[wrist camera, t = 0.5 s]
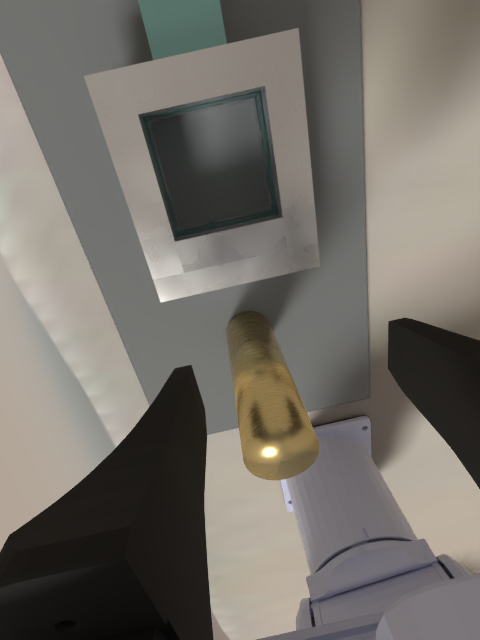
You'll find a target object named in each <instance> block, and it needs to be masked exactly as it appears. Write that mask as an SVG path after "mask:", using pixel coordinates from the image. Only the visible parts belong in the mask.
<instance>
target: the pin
mask: <svg viewBox="0 0 480 640" xmlns="http://www.w3.org/2000/svg"><path fill="white" fill-rule="evenodd" d="M226 338H227V345H228V352H229V359H230V367H231V374H232V381H233V388H234V395H235V403H236V410H237V417H238V424H239V431H240V438H241V446H242V453H243V460H244V464H245V466H246V468H247V469H248V470H249V471H250V472H251V473H252V474H254V475H255V476H257V477H259V478H262V479H267V480H283V479H288V478H292V477H294V476H297V475H299V474H301V473H302V472H304V471H306V470H307V469H308V468H309V467H310V466H311V465H312V464H313V463H314V462H315V460H316V459H317V456H318V454H319V449H320V448H319V441H318V439H317V436H316V434H315V431H314V429H313V427H312V424H311V422H310V419H309V417H308V414H307V412H306V410H305V407H304V405H303V402H302V400H301V397H300V395H299V393H298V390H297V388H296V385H295V383H294V380H293V378H292V375H291V373H290V371H289V368H288V366H287V363H286V361H285V358H284V356H283V354H282V351H281V349H280V346H279V344H278V341H277V339H276V337H275V334H274V332H273V329H272V327H271V324H270V322H269V320H268V319H267V318H266V317H265V316H264V315H263V314H261V313H259V312H255V311H245V312H241V313H239V314H237V315H236V316H234V317H233V318H232V319H231V320H230V321H229V323H228V325H227V328H226Z"/></svg>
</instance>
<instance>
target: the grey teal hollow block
mask: <svg viewBox="0 0 480 640" xmlns="http://www.w3.org/2000/svg"><path fill="white" fill-rule="evenodd" d="M138 3H139V7H140V11H141V15H142V19H143V22H144V26H145V30H146V34H147V38H148V42H149V46H150V50H151V54H152V58H153V61H148V62H144V63H139V64H135V65H130V66H126V67H121V68H117V69H112V70H108V71H103V72H99V73H94V74H90V75H85V76H84V78H85V81H86V84H87V87H88V90H89V93H90V96H91V99H92V102H93V105H94V108H95V111H96V114H97V117H98V120H99V123H100V126H101V128H102V131H103V134H104V137H105V140H106V143H107V146H108V149H109V152H110V155H111V158H112V161H113V164H114V167H115V170H116V173H117V176H118V178H119V181H120V184H121V187H122V190H123V193H124V196H125V199H126V202H127V205H128V208H129V211H130V214H131V217H132V220H133V223H134V226H135V229H136V231H137V234H138V237H139V240H140V243H141V246H142V249H143V252H144V255H145V258H146V261H147V264H148V267H149V270H150V273H151V276H152V279H153V281H154V284H155V287H156V290H157V293H158V296H159V299H160V302H166V301H170V300H174V299H179V298H183V297H188V296H192V295H196V294H201V293H205V292H210V291H214V290H218V289H223V288H227V287H232V286H236V285H241V284H245V283H249V282H254V281H258V280H263V279H267V278H271V277H276V276H280V275H285V274H289V273H294V272H298V271H302V270H307V269H311V268H316V267H320V258H319V247H318V236H317V225H316V214H315V203H314V192H313V181H312V170H311V159H310V148H309V137H308V126H307V115H306V104H305V93H304V82H303V72H302V61H301V50H300V39H299V28H296V29H291V30H287V31H282V32H278V33H273V34H269V35H264V36H260V37H256V38H251V39H247V40H242V41H238V42H233V43H229V44H227V41H226V35H225V29H224V23H223V17H222V12H221V6H220V0H138ZM248 101H252V106H253V113H254V119H255V126H256V132H257V139H258V145H259V152H260V158H261V165H262V171H263V178H264V184H265V191H266V197H267V204H268V206H266V207H262V208H258V209H253V210H249V211H244V212H240V213H235V214H231V215H226V216H222V217H218V218H213V219H209V220H204V221H200V222H195V223H191V224H187V225H182V226H180V225H179V221H178V218H177V214H176V210H175V207H174V203H173V200H172V196H171V192H170V189H169V185H168V182H167V178H166V175H165V171H164V167H163V164H162V160H161V157H160V153H159V149H158V146H157V142H156V139H155V135H154V131H153V128H152V124H151V123H155V122H159V121H163V120H168V119H172V118H177V117H181V116H186V115H190V114H195V113H199V112H204V111H208V110H213V109H217V108H221V107H226V106H230V105H235V104H239V103H244V102H248Z"/></svg>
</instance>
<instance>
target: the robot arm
mask: <svg viewBox="0 0 480 640" xmlns="http://www.w3.org/2000/svg"><path fill="white" fill-rule="evenodd" d="M388 369H389V371H390V372H391V374H392V376H393V377H394V379H395V380H396V382H397V383H398V385H399V386H400V388H401V389H402V391H403V392H404V393H405V395H406V396H407V397H408V398H409V399H410V400H411V402H412V403H413V404H414V405H415V406H416V408H417V409H418V410H419V411H420V412H421V413H422V414H423V416H424V417H425V418H426V419H427V420H428V421H429V422H430V424H431V425H432V426H433V427H434V428H435V429H436V431H437V432H438V433H439V434H440V435H441V436H442V437H443V439H444V440H445V441H446V442H447V444H448V445H449V446H450V447H451V449H452V450H453V451H454V452H455V454H456V455H457V457H458V458H459V460H460V461H461V462H462V464H463V465H464V467H465V468H466V470H467V471H468V472H469V474H470V475H471V477H472V478H473V480H474V481H475V483H476V484H477V486H478V487H479V489H480V341H479V340H476V339H473V338H469V337H466V336H463V335H460V334H457V333H453V332H450V331H447V330H444V329H441V328H438V327H435V326H432V325H429V324H426V323H423V322H420V321H416V320H413V319H408V318H402V319H397V320H393V321H389V325H388ZM364 426H365V427H364ZM313 429H314V431H315V434H316V436H317V439H318V441H319V448H320V449H319V454H318V456H317V459H316V460H315V462H314V463H313V464H312V465H311V466H310V467H309V468H308V469H307V470H306V471H304V472H302V473H301V474H299V475H297V476H294V477H292V478H288V479H283V480H281V484H282V489H283V494H284V498H285V503H286V508H287V510H288V511H289V512H294V513H295V517H296V521H297V525H298V528H299V532H300V536H301V540H302V544H303V548H304V551H305V555H306V559H307V563H308V567H309V571H310V574H311V575H309V576H307V577H306V580H307V584H308V588H309V593H310V598H305V599H302V600H301V602H300V608H299V611H298V613H297V616H296V631H293V632H288V633H284V634H280V635H275V636H271V637H266V638H262V639H257V640H480V573H476V574H471V573H470V572H469V571H468V570H467V568H465V567H464V566H463V565H462V564H460V563H458V562H457V561H455V560H453V559H452V558H451V557H449V556H448V555H445V554H442V555H439V556H437V557H435V556H434V554H433V552H432V551H431V549H430V547H429V545H428V544H427V542H426V540H425V539H420V540H418V539H417V537H416V536H415V534H414V532H413V530H412V529H411V527H410V525H409V523H408V521H407V520H406V518H405V516H404V514H403V513H402V511H401V509H400V507H399V506H398V504H397V502H396V500H395V498H394V497H393V495H392V493H391V491H390V490H389V488H388V486H387V484H386V482H385V481H384V479H383V477H382V475H381V474H380V472H379V470H378V468H377V467H376V465H375V463H374V461H373V459H372V458H371V422H370V420H369V418H368V417H367V416H361V417H357V418H353V419H348V420H344V421H340V422H335V423H331V424H326V425H322V426H318V427H313ZM206 446H207V426H206V414H205V407H204V404H203V400H202V397H201V394H200V391H199V387H198V384H197V381H196V378H195V375H194V371H193V368H192V365H188V366H183V367H178V368H175V369H174V370H173V372H172V373H171V375H170V376H169V378H168V379H167V381H166V383H165V384H164V386H163V387H162V389H161V390H160V392H159V394H158V395H157V397H156V398H155V400H154V401H153V403H152V404H151V405H150V407H149V408H148V410H147V411H146V412H145V414H144V415H143V416H142V418H141V419H140V420H139V422H138V423H137V424H136V426H135V427H134V428H133V429H132V431H131V432H130V433H129V434H128V435H127V436H126V438H125V439H124V440H123V441H122V442H121V443H120V444H119V445H118V446H117V447H116V448H115V450H114V451H113V452H112V453H111V454H110V455H109V456H107V458H105V459H104V460H103V461H102V462H101V463H100V464H99V465H98V466H97V467H96V468H95V469H94V470H93V471H92V472H91V473H90V474H89V475H87V476H86V477H85V478H84V479H83V480H82V481H81V482H79V484H77V485H76V486H75V487H74V488H72V489H71V490H70V491H69V492H67V493H66V494H65V495H64V496H62V497H61V498H60V499H59V500H57V501H56V502H55V503H53V504H52V505H51V506H49V507H48V508H47V509H45V510H44V511H43V512H41V513H40V514H39V515H37V516H36V517H34V518H33V519H32V520H30V521H29V522H27V523H26V524H25V525H23V526H22V527H20V528H19V529H17V530H16V531H15V532H13V533H12V534H10V535H9V537H8V539H7V541H6V542H5V544H4V546H3V548H2V550H1V552H0V640H213V630H212V619H211V607H210V594H209V580H208V566H207V550H206V533H205V513H204V488H205V468H206Z"/></svg>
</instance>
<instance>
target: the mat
mask: <svg viewBox="0 0 480 640" xmlns="http://www.w3.org/2000/svg"><path fill="white" fill-rule="evenodd" d="M220 6H221V12H222V17H223V23H224V29H225V35H226V41H227V44H229V43H233V42H238V41H242V40H247V39H251V38H256V37H260V36H264V35H269V34H273V33H278V32H282V31H287V30H291V29H296V28H299V39H300V50H301V61H302V72H303V82H304V93H305V104H306V115H307V126H308V137H309V148H310V159H311V170H312V181H313V192H314V203H315V214H316V225H317V236H318V247H319V258H320V267H316V268H311V269H307V270H302V271H298V272H294V273H289V274H285V275H280V276H276V277H271V278H267V279H263V280H258V281H254V282H249V283H245V284H241V285H236V286H232V287H227V288H223V289H218V290H214V291H210V292H205V293H201V294H196V295H192V296H188V297H183V298H179V299H174V300H170V301H166V302H160V299H159V296H158V293H157V290H156V287H155V284H154V281H153V279H152V276H151V273H150V270H149V267H148V264H147V261H146V258H145V255H144V252H143V249H142V246H141V243H140V240H139V237H138V234H137V231H136V229H135V226H134V223H133V220H132V217H131V214H130V211H129V208H128V205H127V202H126V199H125V196H124V193H123V190H122V187H121V184H120V181H119V178H118V176H117V173H116V170H115V167H114V164H113V161H112V158H111V155H110V152H109V149H108V146H107V143H106V140H105V137H104V134H103V131H102V128H101V126H100V123H99V120H98V117H97V114H96V111H95V108H94V105H93V102H92V99H91V96H90V93H89V90H88V87H87V84H86V81H85V78H84V76H85V75H90V74H94V73H99V72H103V71H108V70H112V69H117V68H121V67H126V66H130V65H135V64H139V63H144V62H148V61H153V58H152V54H151V50H150V46H149V42H148V38H147V34H146V30H145V26H144V22H143V19H142V15H141V11H140V7H139V3H138V0H0V54H1V56H2V58H3V61H4V63H5V65H6V68H7V70H8V72H9V75H10V77H11V80H12V82H13V84H14V87H15V89H16V91H17V94H18V96H19V98H20V101H21V103H22V105H23V108H24V110H25V113H26V115H27V117H28V120H29V122H30V124H31V127H32V129H33V131H34V134H35V136H36V139H37V141H38V143H39V146H40V148H41V150H42V153H43V155H44V157H45V160H46V162H47V165H48V167H49V169H50V172H51V174H52V176H53V179H54V181H55V183H56V186H57V188H58V191H59V193H60V195H61V198H62V200H63V202H64V205H65V207H66V209H67V212H68V214H69V217H70V219H71V221H72V224H73V226H74V228H75V231H76V233H77V235H78V238H79V240H80V243H81V245H82V247H83V250H84V252H85V254H86V257H87V259H88V261H89V264H90V266H91V269H92V271H93V273H94V276H95V278H96V280H97V283H98V285H99V287H100V290H101V292H102V295H103V297H104V299H105V302H106V304H107V306H108V309H109V311H110V313H111V316H112V318H113V320H114V323H115V325H116V328H117V330H118V332H119V335H120V337H121V339H122V342H123V344H124V346H125V349H126V351H127V354H128V356H129V358H130V361H131V363H132V365H133V368H134V370H135V372H136V375H137V377H138V380H139V382H140V384H141V387H142V389H143V391H144V394H145V396H146V398H147V401H148V403H149V406H150V405H151V404H152V403H153V401H154V400H155V398H156V397H157V395H158V394H159V392H160V390H161V389H162V387H163V386H164V384H165V383H166V381H167V379H168V378H169V376H170V375H171V373H172V372H173V370H174V369H175V368H178V367H183V366H188V365H192V368H193V371H194V375H195V378H196V381H197V384H198V387H199V391H200V394H201V397H202V400H203V404H204V407H205V414H206V426H207V435H209V434H213V433H218V432H222V431H226V430H231V429H235V428H239V424H238V417H237V410H236V403H235V395H234V388H233V381H232V374H231V367H230V359H229V352H228V345H227V338H226V328H227V325H228V323H229V321H230V320H231V319H232V318H233V317H234V316H236V315H237V314H239V313H241V312H245V311H255V312H259V313H261V314H263V315H264V316H265V317H266V318H267V319H268V320H269V322H270V324H271V327H272V329H273V332H274V334H275V337H276V339H277V341H278V344H279V346H280V349H281V351H282V354H283V356H284V358H285V361H286V363H287V366H288V368H289V371H290V373H291V375H292V378H293V380H294V383H295V385H296V388H297V390H298V393H299V395H300V397H301V400H302V402H303V405H304V407H305V410H306V412H310V411H314V410H318V409H323V408H327V407H332V406H336V405H340V404H345V403H349V402H353V401H358V400H362V399H367V398H370V389H369V349H368V308H367V267H366V227H365V186H364V146H363V105H362V65H361V24H360V0H220ZM151 124H152V128H153V131H154V135H155V139H156V142H157V146H158V149H159V153H160V157H161V160H162V164H163V167H164V171H165V175H166V178H167V182H168V185H169V189H170V192H171V196H172V200H173V203H174V207H175V210H176V214H177V218H178V221H179V225H180V226H182V225H187V224H191V223H195V222H200V221H204V220H209V219H213V218H218V217H222V216H226V215H231V214H235V213H240V212H244V211H249V210H253V209H258V208H262V207H266V206H268V204H267V197H266V191H265V184H264V178H263V171H262V165H261V158H260V152H259V145H258V139H257V132H256V126H255V119H254V113H253V106H252V101H248V102H244V103H239V104H235V105H230V106H226V107H221V108H217V109H213V110H208V111H204V112H199V113H195V114H190V115H186V116H181V117H177V118H172V119H168V120H163V121H159V122H155V123H151Z"/></svg>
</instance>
